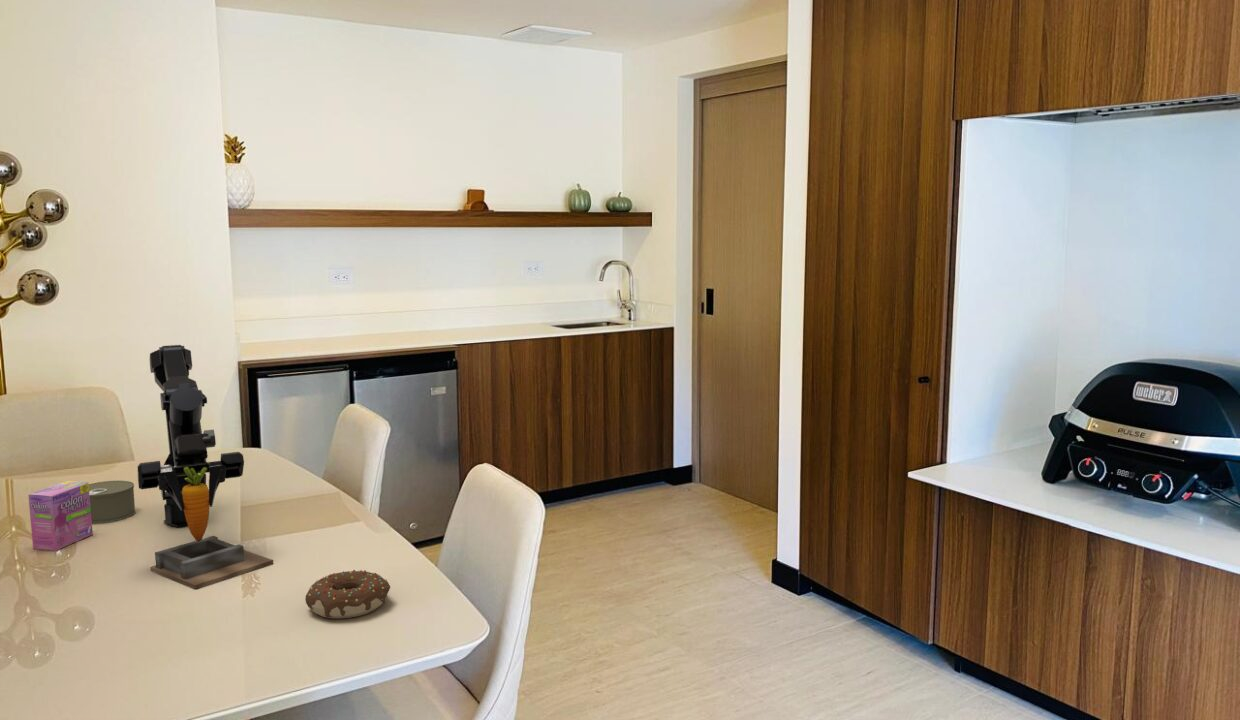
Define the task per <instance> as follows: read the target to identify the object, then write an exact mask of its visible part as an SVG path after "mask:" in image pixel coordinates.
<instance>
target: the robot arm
mask: <svg viewBox="0 0 1240 720" xmlns="http://www.w3.org/2000/svg"><path fill="white" fill-rule="evenodd" d="M192 359H193V358H192V351H191V350H190V349H187V348H185V345H181V344H170V345H162V346H161V347H158V349H157V350H154V351H152V352H150V353H149V368H150V369H149V370H150V373H151V374H153V376H154V377H153V378H154V382H155V384H157V385H156V386H158V388H160V389H161V391H163V392H161V393H160V408H161V411H165V420H166V421H165V422H166V430H167V431H166V432H167V441H168V450H169V454H168V455H167V458H166V459H165V461H164V463H163V465H162V464H161V460H155V461H145V462H140V463H138V465H137V467H136V468H137V483H138V484H137V485H138V489H139V490H147V489H155V488H158V490H159V491H160V492H161V499H162V501H165V504H164V520H163V523H164V524H167V525H170V526H173V527H175V528H182V527H186V526H188V524H187V521H186V517H185V513H184V504H183V498H182V488H183V487H184V486H186V485H189V484H190V483H189V482H188V481H186V480H185V478H188V476H187V475H186V473H185V472H184V468H185V467H188V468H189V469H191V468H193V469H194V470H195V472H196V474H198V473H200V472H201V470H202V468H203V467H206V468H207V470H206V472H205V474H204V475H203V477H202V479H201V482H200V483H204V484H206V485H207V473H208V474H209V477H208V489H209V508H212V507H213V504H214V501H215V495H216V492H217V489H218V487H219V485H220V484H221V483H224V482H226V479H233V478H240V477H242V476H243V475H244V473H243V472H244V465H245V459H244V454H243V453H241V452H240V451H234V452H233V451H232V452H225V453H221V454H220V460H215V461H207V459H208V448H214V447H216V444H217V443H216V442H217V441H216V434H215V429H205V430H203V431H202V429H203V428H202V426H201V420H202V415H203V407H205V404H208V397H207V396H206V395H205V394H204V393H203V391H202V389H199V387H198V384H197V381H196V380H194V379H192V378H190V377H189V375H190V371H192V369H193V360H192ZM191 473H192V472H191ZM192 475H193V474H192Z"/></svg>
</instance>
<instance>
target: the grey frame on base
mask: <svg viewBox="0 0 1240 720" xmlns="http://www.w3.org/2000/svg"><path fill="white" fill-rule="evenodd" d="M154 558H155V565H151V566H150V567H149V569H150V572H153V573H155V574H157V575H160V576H162V577H165V578H167V579H169V580H172V581H174V582H177V583H178V584H182V585H183V586H186V587H188V588H191V589H194V590H199V589H201V588H204V587H207V586H210V585H214V584H216V583H219V582H223V581H225V580H228V579H232V578H235V577H239V576H240V575H244V574H246V573H250V572H252V571H253V572H254V571H256V570H258V569H263V568H265V567H268V566H270V565H273V564H274V559H271V558H268V557H266V556H263V555H261V554H257V553H254V552H251V551H248V550H246V549H244V545H242V544H236V545H235V544H233V543H230V542H226V541H223V540H221V539H219V537H218V536H216V535H212V536H208V537H204V538H202V539H201V540H200V542H198V541H196V540H194V541H190V542H188V543H187V542H186V543H182V544H180V545H176V546H173V547H169V548H165V549H162V550H159V551H155V552H154Z"/></svg>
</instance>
